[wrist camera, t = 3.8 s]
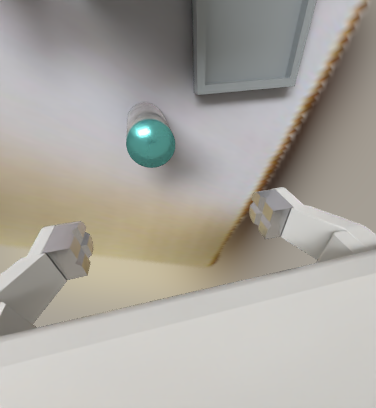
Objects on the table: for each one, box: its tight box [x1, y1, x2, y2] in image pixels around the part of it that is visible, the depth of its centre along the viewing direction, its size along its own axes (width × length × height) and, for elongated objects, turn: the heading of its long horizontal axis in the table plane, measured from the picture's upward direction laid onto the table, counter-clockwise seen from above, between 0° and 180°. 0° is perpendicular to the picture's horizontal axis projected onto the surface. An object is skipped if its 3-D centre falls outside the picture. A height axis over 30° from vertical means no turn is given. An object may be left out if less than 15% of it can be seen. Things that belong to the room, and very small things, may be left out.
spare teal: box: [126, 102, 175, 168], centre depth 19 cm, size 4×4×7 cm
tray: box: [192, 0, 317, 95], centre depth 18 cm, size 11×11×2 cm
